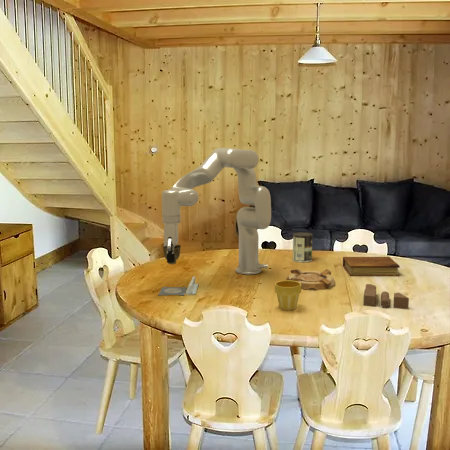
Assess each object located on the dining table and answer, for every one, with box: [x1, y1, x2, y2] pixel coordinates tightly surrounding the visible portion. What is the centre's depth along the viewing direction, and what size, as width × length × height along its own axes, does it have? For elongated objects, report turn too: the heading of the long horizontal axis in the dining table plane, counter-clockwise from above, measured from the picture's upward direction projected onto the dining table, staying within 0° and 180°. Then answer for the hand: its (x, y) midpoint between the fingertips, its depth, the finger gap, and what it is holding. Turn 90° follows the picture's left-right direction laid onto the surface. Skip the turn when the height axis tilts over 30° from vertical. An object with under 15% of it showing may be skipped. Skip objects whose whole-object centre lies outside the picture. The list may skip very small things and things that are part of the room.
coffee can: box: [292, 231, 314, 263], centre depth 290 cm, size 10×10×14 cm
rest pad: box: [157, 286, 188, 297], centre depth 238 cm, size 11×11×1 cm
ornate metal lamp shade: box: [162, 243, 181, 265], centre depth 235 cm, size 8×7×8 cm
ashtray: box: [286, 268, 336, 291], centre depth 250 cm, size 24×24×5 cm
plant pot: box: [274, 280, 302, 311], centre depth 216 cm, size 10×10×10 cm
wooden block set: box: [362, 283, 410, 310], centre depth 223 cm, size 17×6×18 cm
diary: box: [342, 256, 400, 277], centre depth 269 cm, size 23×19×6 cm
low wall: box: [185, 276, 199, 296], centre depth 240 cm, size 4×14×4 cm, turn 177°
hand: (172, 260), depth 235 cm, fingers closed on ornate metal lamp shade, 6 cm apart
